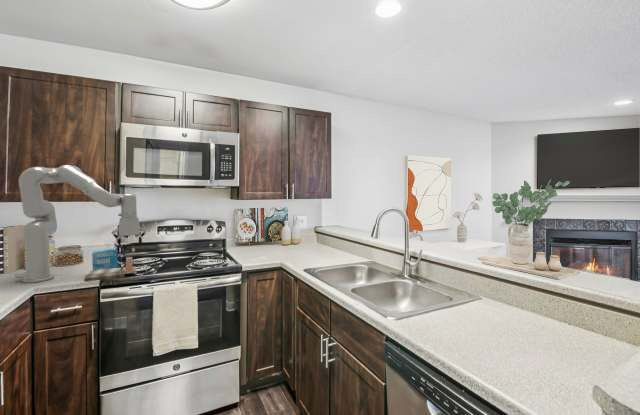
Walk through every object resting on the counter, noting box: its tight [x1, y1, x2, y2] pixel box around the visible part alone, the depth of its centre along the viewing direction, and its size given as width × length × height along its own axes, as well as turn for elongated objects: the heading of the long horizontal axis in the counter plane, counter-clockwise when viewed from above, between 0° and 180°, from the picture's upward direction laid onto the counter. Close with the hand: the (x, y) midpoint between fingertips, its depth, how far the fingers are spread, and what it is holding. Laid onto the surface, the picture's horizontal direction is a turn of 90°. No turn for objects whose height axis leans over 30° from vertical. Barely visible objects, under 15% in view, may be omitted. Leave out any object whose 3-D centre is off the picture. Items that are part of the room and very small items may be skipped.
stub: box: [122, 256, 136, 274], centre depth 178 cm, size 6×9×8 cm, turn 32°
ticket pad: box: [83, 267, 126, 282], centre depth 172 cm, size 18×10×4 cm, turn 122°
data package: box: [91, 248, 119, 270], centre depth 188 cm, size 12×4×12 cm, turn 143°
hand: (130, 245), depth 178 cm, fingers open, 9 cm apart
